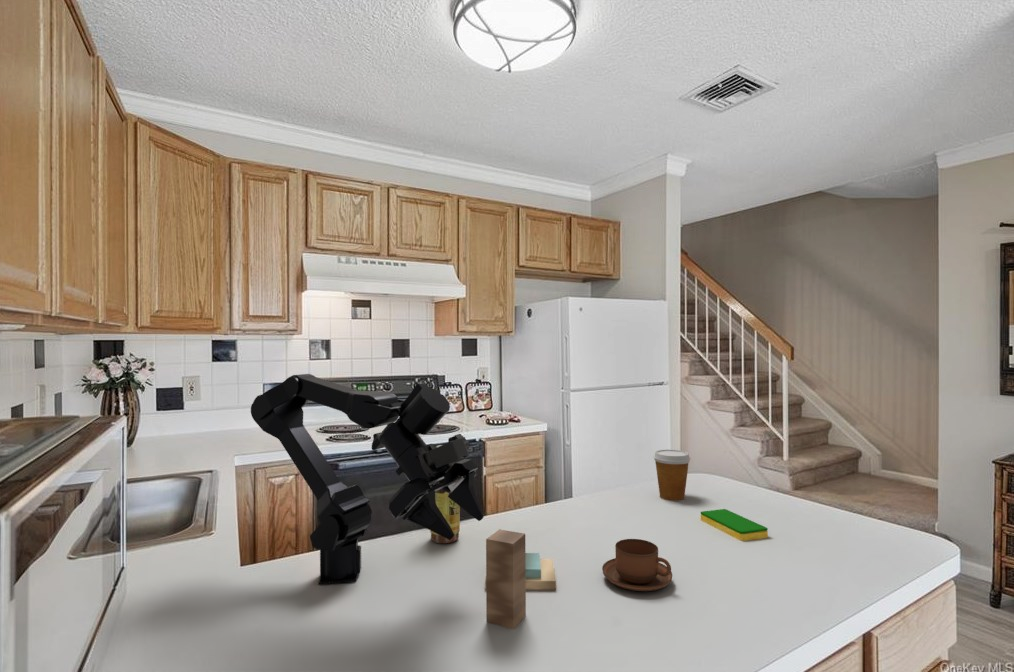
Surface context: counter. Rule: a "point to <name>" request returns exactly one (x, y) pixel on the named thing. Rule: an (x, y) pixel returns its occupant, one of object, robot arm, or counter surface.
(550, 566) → the plinth
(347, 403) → the robot arm
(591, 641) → the counter surface
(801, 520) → the counter surface
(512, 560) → the pillar
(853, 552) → the counter surface
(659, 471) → the disposable coffee cup
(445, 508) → the sauce bottle
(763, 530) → the dish sponge
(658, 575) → the cup and saucer
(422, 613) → the counter surface
